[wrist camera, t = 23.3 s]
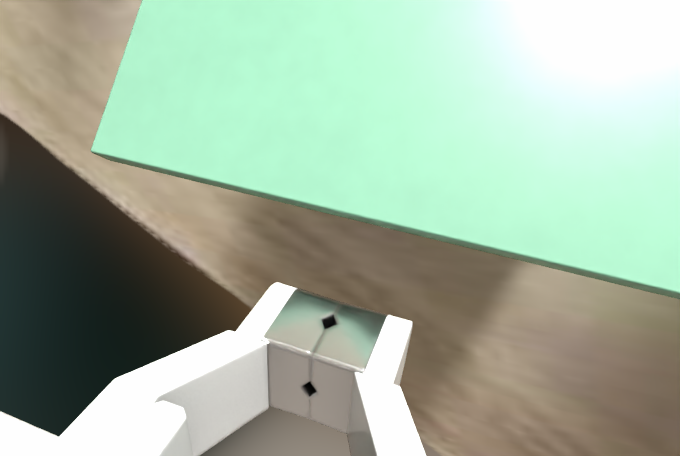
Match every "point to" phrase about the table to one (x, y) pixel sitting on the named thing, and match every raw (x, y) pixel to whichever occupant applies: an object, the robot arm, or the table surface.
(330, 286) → the table surface
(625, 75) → the cover
